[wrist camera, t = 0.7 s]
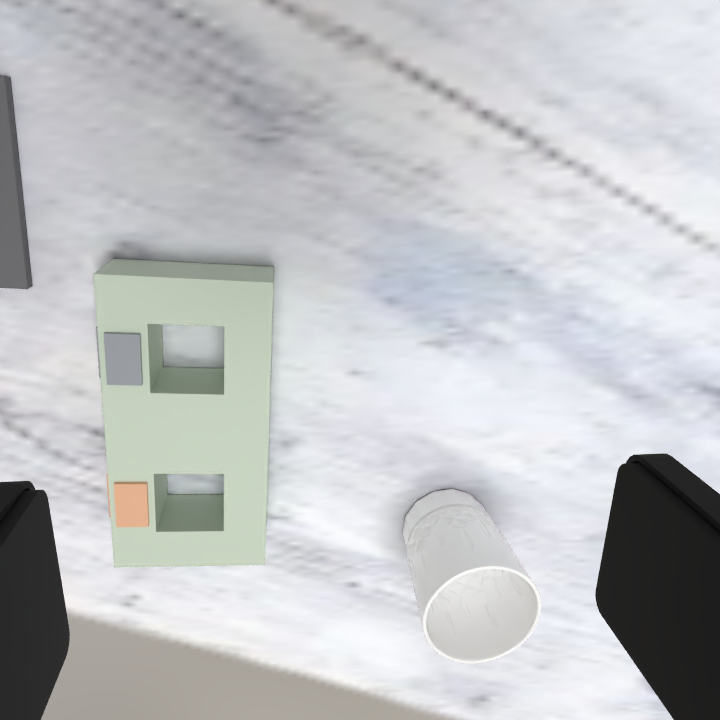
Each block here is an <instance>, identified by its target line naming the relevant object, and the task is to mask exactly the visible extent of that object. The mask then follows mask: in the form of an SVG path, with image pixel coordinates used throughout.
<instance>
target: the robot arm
mask: <svg viewBox="0 0 720 720" xmlns="http://www.w3.org/2000/svg"><path fill="white" fill-rule="evenodd" d="M596 602H597V606H598V609H599V612H600V613H601V615H602V617H603V618H604V620H605V621H606V623H607V624H608V625H609V627H610V628H611V630H612V631H613V633H614V634H615V635H616V637H617V638H618V640H619V641H620V643H621V644H622V646H623V647H624V648H625V650H626V651H627V653H628V654H629V656H630V657H631V659H632V660H633V661H634V663H635V664H636V666H637V667H638V669H639V670H640V672H641V673H642V674H643V676H644V677H645V679H646V680H647V682H648V683H649V684H650V686H651V687H652V689H653V690H654V692H655V693H656V695H657V696H658V697H659V699H660V700H661V702H662V703H663V705H664V706H665V708H666V709H667V710H668V712H669V713H670V715H671V716H672V718H673V719H674V720H720V494H719V493H718V492H716V491H715V490H714V489H712V488H711V487H710V486H709V485H707V484H706V483H705V482H704V481H702V480H701V479H700V478H698V477H697V476H696V475H695V474H693V473H692V472H691V471H690V470H688V469H687V468H686V467H684V466H683V465H682V464H681V463H679V462H678V461H677V460H676V459H674V458H673V457H672V456H670V455H668V454H642V455H633V456H631V457H629V459H628V460H627V462H626V464H622V465H621V466H620V467H619V469H618V473H617V478H616V483H615V489H614V494H613V500H612V505H611V510H610V516H609V521H608V527H607V532H606V538H605V543H604V549H603V554H602V560H601V565H600V570H599V576H598V581H597V587H596ZM69 636H70V634H69V625H68V619H67V613H66V607H65V601H64V594H63V588H62V582H61V576H60V570H59V564H58V558H57V552H56V546H55V539H54V533H53V527H52V521H51V515H50V509H49V503H48V498H47V494H46V493H45V491H44V490H35V488H34V486H33V484H32V483H31V482H30V481H15V482H0V720H41V717H42V715H43V712H44V710H45V708H46V705H47V703H48V700H49V698H50V695H51V693H52V690H53V688H54V685H55V683H56V680H57V678H58V675H59V673H60V670H61V668H62V666H63V663H64V661H65V658H66V655H67V651H68V647H69Z"/></svg>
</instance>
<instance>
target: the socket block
mask: <svg viewBox="0 0 720 720" xmlns="http://www.w3.org/2000/svg"><path fill="white" fill-rule="evenodd" d="M273 282H274V267H267V266H247V265H228V264H208V263H189V262H170V261H150V260H131V259H113V260H111V261H110V262H109V263H107V264H106V265H105V266H103V267H102V268H101V269H99V270H98V271H97V272H96V273H94V287H95V301H96V316H97V327H96V334H97V348H98V362H99V376H100V378H101V386H102V401H103V415H104V429H105V443H106V457H107V471H108V473H107V488H108V502H109V516H110V517H111V528H112V542H113V556H114V567H167V566H228V565H265V545H266V514H267V481H268V448H269V415H270V381H271V348H272V315H273ZM162 324H168V325H194V326H221V327H224V368H191V367H163V345H162ZM167 474H224V495H168V494H167Z"/></svg>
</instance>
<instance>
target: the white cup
mask: <svg viewBox="0 0 720 720" xmlns="http://www.w3.org/2000/svg"><path fill="white" fill-rule="evenodd" d="M403 537H404V541H405V545H406V549H407V557H408V564H409V569H410V574H411V579H412V585H413V589H414V593H415V598H416V602H417V606H418V610H419V615H420V619H421V623H422V628H423V632H424V635H425V638H426V640H427V642H428V644H429V645H430V646H431V647H432V649H433V650H434V651H436V652H437V653H438V654H440V655H441V656H443V657H445V658H447V659H449V660H452V661H456V662H460V663H483V662H488V661H492V660H495V659H498V658H500V657H503V656H505V655H507V654H509V653H510V652H512V651H514V650H515V649H516V648H518V647H519V646H520V645H521V644H523V643H524V642H525V641H526V640H527V639H528V637H529V636H530V635H531V634H532V632H533V631H534V629H535V627H536V625H537V623H538V621H539V618H540V614H541V598H540V594H539V591H538V589H537V587H536V586H535V584H534V583H533V581H532V580H531V578H530V576H529V575H528V573H527V572H526V570H525V569H524V567H523V566H522V564H521V562H520V561H519V559H518V558H517V556H516V555H515V553H514V551H513V550H512V548H511V547H510V545H509V543H508V542H507V541H506V539H505V538H504V536H503V535H502V534H501V532H500V530H499V529H498V527H497V526H496V525H495V523H494V522H493V521H492V519H491V518H490V517H489V516H488V514H487V512H486V511H485V509H484V507H483V506H482V504H480V503H479V502H478V501H477V500H476V499H475V498H474V497H473V496H472V495H470V494H469V493H466V492H462V491H458V490H454V489H448V490H441V491H435V492H432V493H430V494H428V495H427V496H425V497H423V498H422V499H420V500H418V501H417V502H416V503H415V504H414V505H413V507H412V508H411V509H410V511H409V512H408V513H407V515H406V517H405V522H404V528H403Z"/></svg>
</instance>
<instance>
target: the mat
mask: <svg viewBox="0 0 720 720" xmlns="http://www.w3.org/2000/svg"><path fill="white" fill-rule="evenodd" d="M31 286H32V278H31V268H30V259H29V249H28V240H27V230H26V221H25V211H24V202H23V192H22V183H21V174H20V164H19V155H18V145H17V136H16V126H15V117H14V107H13V98H12V88H11V79H10V77H6V76H0V288H17V289H28V288H30V287H31Z"/></svg>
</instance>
